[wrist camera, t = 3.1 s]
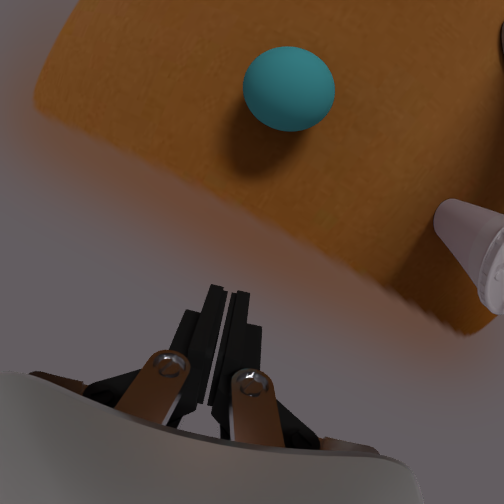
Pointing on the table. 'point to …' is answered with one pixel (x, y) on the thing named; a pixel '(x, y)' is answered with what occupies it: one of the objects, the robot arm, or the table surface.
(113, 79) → the table surface
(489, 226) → the smoothie
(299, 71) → the ball
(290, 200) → the table surface
